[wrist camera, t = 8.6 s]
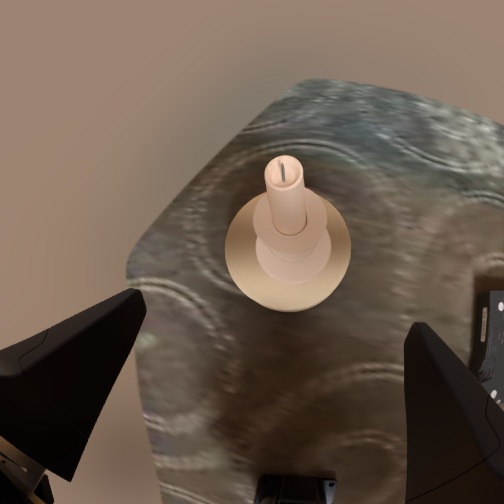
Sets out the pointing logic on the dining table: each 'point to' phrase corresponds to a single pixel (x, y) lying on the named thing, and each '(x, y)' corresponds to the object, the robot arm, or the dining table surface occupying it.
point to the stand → (269, 289)
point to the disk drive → (490, 344)
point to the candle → (290, 225)
